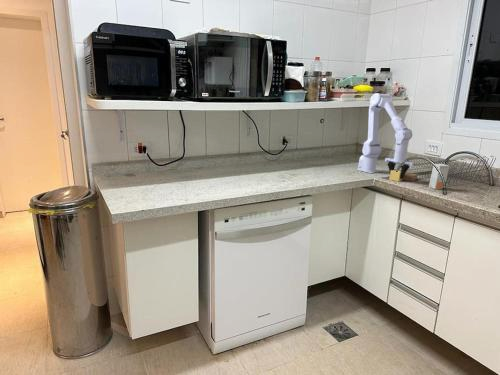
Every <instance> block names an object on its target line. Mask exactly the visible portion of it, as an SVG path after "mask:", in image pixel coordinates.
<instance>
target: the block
mask: <svg viewBox="0 0 500 375" xmlns="http://www.w3.org/2000/svg"><path fill="white" fill-rule="evenodd" d="M397 170H398V172H396V171H397ZM400 175H401V170H399V169H396V168H394V170H391V172H390V171H389V178H388V179H389V180H390V181H395V182H402V181H404V180H403V179H400Z"/></svg>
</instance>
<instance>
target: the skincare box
mask: <svg viewBox="0 0 500 375" xmlns="http://www.w3.org/2000/svg"><path fill="white" fill-rule="evenodd" d="M434 164H435V165H436V166H437V167H438V169H439V170H440V171H441V172H442V174H443V177H444V179H445V182H446V183H447V179H448V175H449V171H450V165H448V164H445V163H434ZM428 184H429V185H428V187H429V188H431V189H433V190H443V189H442V180H441V177H440V174H439V172H438V171H437V170H436V168H435V167H434V166H432V171H431V174H430V179H429V183H428Z"/></svg>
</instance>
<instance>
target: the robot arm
mask: <svg viewBox="0 0 500 375" xmlns="http://www.w3.org/2000/svg"><path fill="white" fill-rule="evenodd" d="M393 102H394V99H393V98H392V95H391V94H389V93H377V92H375V93H373V94H372V96H371V97H370V100H369V107H368V125H367V126H368V127H367V130H368V131H367V140H366V141H364V142H363V146H362V150H361V152H362V154H361V156H359V160H358V166H357V169H356V170H357V171H360V172H365V173H369V174H374V173H378V172H379V171H378V170H376V168H377V165H378V164H377V163H378V157H379V156H380V155H381V154H382V149H383V148H382V146H381V141H380V140H379V123H380V122H379V121H380V111H381V110H382V109H385V111H386V112H387V114H388V115H389V117H390V119H391V121H390V124H391V126H392V128H393V130H394V132H395V134H394V137H395V143H396V144H395V149H394V153H393V158H389V157H385V159H384V162H385V163H387V167H388V171H389V173H390V172H391V170H395V169H396V168H395V167H396V165H401V163H402V162H404V161H406V162H405V163H404V164H403V165H401V166H400V169H401V170H400V171H401V175H400V179H403V177H404V175H405V173H406V172H407V171H408V170H409V168H410V167H411V168H412V167H414V162H411V161H407V160H406V158H407V153H408V147H409V141H410V140H411V139H412V138H413V132H412V130H411V128H408V126H406V123H405V121H404V118H403V117H402V116H399V115H398V113H397V111H396V107H395V106H394V103H393Z"/></svg>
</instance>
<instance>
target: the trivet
mask: <svg viewBox="0 0 500 375" xmlns="http://www.w3.org/2000/svg"><path fill="white" fill-rule="evenodd" d="M418 176H419V174H416V173H412V172H407V171H406V173H405V175H404V177H403V180H402V181H408V182H412V181H416V180H418Z"/></svg>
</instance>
